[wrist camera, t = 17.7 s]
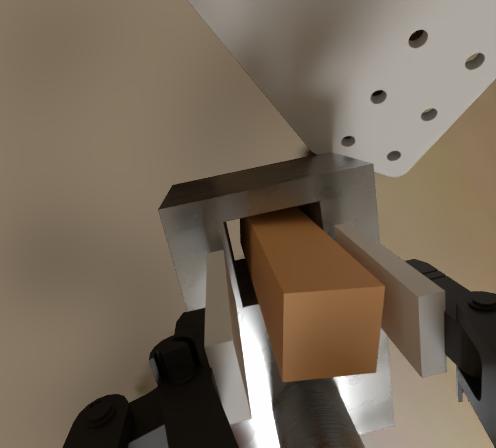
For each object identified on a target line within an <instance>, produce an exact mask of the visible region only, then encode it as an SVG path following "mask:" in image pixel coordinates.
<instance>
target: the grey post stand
mask: <svg viewBox="0 0 496 448" xmlns="http://www.w3.org/2000/svg"><path fill="white" fill-rule="evenodd" d="M294 206H296V207H298V208H299V209H300V210H301V211H302V212H303V213H304V214H305V215H307V216H308V217H309V218H310V219H311V220H312V221H313V222H314V223H315V224H317V225H318V226H319V227H320V228H321V229H322V230H323V231H324V232H325V233H327V234H328V235H329V236H330V237H331V238H332V239H333V240H334V241H335V242H336V234H335V226H334V225H338V224H342V223H347V222H352V223H353V224H354V225H356V226H357V227H359V228H360V229H361V230H363V231H364V232H365V233H367V234H368V235H369V236H371V237H372V238H374V239H375V240H376V241H378V242H379V243H380V239H379V227H378V214H377V202H376V189H375V177H374V165H373V163H370V162H366V161H362V160H359V159H355V158H351V157H348V156H344V155H340V154H337V153H333V152H331V153H325V154H319V155H318V154H317V155H312V156H307V157H303V158H298V159H293V160H289V161H284V162H280V163H275V164H270V165H265V166H260V167H256V168H251V169H247V170H242V171H237V172H232V173H227V174H223V175H218V176H214V177H209V178H204V179H199V180H195V181H190V182H185V183H180V184H176V185H172V187H171V189H170V190H169V192H168V194H167V196H166V197H165V199H164V201H163V202H162V204H161V206H160V208H159V209H158V211H159V214H160V218H161V221H162V225H163V228H164V232H165V235H166V239H167V242H168V246H169V249H170V253H171V256H172V259H173V263H174V266H175V270H176V274H177V277H178V281H179V284H180V287H181V291H182V294H183V298H184V301H185V305H186V308H187V312H188V311H193V310H197V309H201V308H205V303H206V267H207V253H211V252H216V251H220V250H224V254H225V258H226V262H227V266H228V271H229V275H230V279H231V283H232V288H233V292H234V296H235V301H236V306H237V314H238V321H239V328H240V335H241V343H242V350H243V357H244V364H245V372H246V379H247V386H248V393H249V401H250V408H251V415H252V419H251V420H246V421H242V422H238V423H234V424H230V426H231V429H232V431H233V434H234V436H235V439H236V441H237V444H238V446H239V448H365V447H364V445H363V442H362V440H361V438H360V436H359V435H360V434H364V433H368V432H372V431H376V430H380V429H385V428H389V427H393V426H395V425H394V413H393V400H392V388H391V375H390V363H389V351H388V338H387V334H386V333H385V332H384V331H383V330H382V328H381V331H380V341H379V350H378V360H377V369H376V373H369V374H359V375H349V376H340V377H330V378H320V379H311V380H301V381H291V382H282V379H281V376H280V372H279V369H278V366H277V362H276V359H275V356H274V352H273V349H272V346H271V342H270V339H269V336H268V332H267V329H266V326H265V322H264V319H263V316H262V312H261V309H260V306H259V302H258V299H257V296H256V293H255V289H254V286H253V283H252V279H251V276H250V273H249V269H248V266H247V263H246V259H240V260H236V261H235V260H234V255H233V251H232V246H231V242H230V238H229V234H228V229H227V224H226V221H229V220H234V219H239V218H244V217H248V216H253V215H257V214H262V213H267V212H271V211H276V210H280V209H285V208H289V207H294Z"/></svg>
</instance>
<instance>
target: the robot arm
mask: <svg viewBox="0 0 496 448" xmlns="http://www.w3.org/2000/svg"><path fill="white" fill-rule="evenodd" d="M334 226H335V234H336V242H337V243H338V244H339V245H340V246H341V247H342V248H343V249H344V250H346V251H347V252H348V253H349V254H350V255H351V256H352V257H353V258H354V259H356V260H357V261H358V262H359V263H360V264H361V265H362V266H363V267H364V268H366V269H367V270H368V271H369V272H370V273H371V274H372V275H373V276H374V277H376V278H377V279H378V280H379V281H380V282H381V283H382V284H383V285H384V286H385V293H384V303H383V312H382V322H381V328H382V330H383V331H384V332H385V333H386V334H387V336H388V337H389V338H390V339H391V341H392V342H393V343H394V344H395V345H396V347H397V348H398V349H399V350H400V352H401V353H402V354H403V355H404V356H405V358H406V359H407V360H408V361H409V363H410V364H411V365H412V366H413V368H414V369H415V370H416V371H417V372H418V374H419V375H420V376H421V377H422V378H423V377H427V376H432V375H436V374H440V373H444V372H447V369H446V355H447V356H448V357H449V358H450V359H451V360H452V361H453V362H454V363H455V364H456V390H457V399H458V402H462V393H463V392H465V394H466V396H467V398H468V401H469V402H470V403H471V405H472V407H473V409H474V411H475V412H476V414H477V416H478V418H479V420H480V421H481V423H482V425H483V427H484V429H485V431H486V432H487V434H488V436H489V438H490V440H491V441H492V443H493V445H494V447H495V448H496V294H494V293H489V292H483V291H472V292H470V291H469V290H467V289H466V288H464V287H463V286H461V285H460V284H458V283H457V282H455V281H454V280H452V279H451V278H449V277H448V276H447V277H446V275H445V274H443V273H442V272H440V271H438V270H437V269H436V268H434V267H433V266H431V265H430V264H428V263H426V262H422V261H419V260H416V259H412V260H407V261H404V260H402V259H401V258H400V257H398V256H397V255H395V254H394V253H393V252H391V251H390V250H389V249H387V248H386V247H385V246H383V245H382V244H380V243H379V242H378V241H376V240H375V239H374V238H372V237H371V236H369V235H368V234H367V233H365V232H364V231H363V230H361V229H360V228H359V227H357V226H356V225H354V224H353V223H352V222H347V223H342V224H338V225H334ZM149 361H150V364H151V367H152V370H153V373H154V376H155V379H156V382H157V384H158V387H156V388H155V389H154V390H153V391H151V392H149V393H148V394H146V395H144V396H142V397H140V398H138V399H136V400H134V401H132V402H130V403H128V401H127V399H126V398H125V397H124V396H122V395H119V394H112V395H106V396H104V397H101V398H99V399H97V400H95V401H94V402H92V403H90V404H89V405H87V406H86V407H85V408H84V409H83V410H82V411H81V412H80V413H79V415H78V416H77V418H76V419H75V421H74V422H73V425H72V427H71V429H70V432H69V434H68V436H67V439H66V441H65V443H64V445H63V448H239V446H238V444H237V441H236V439H235V436H234V434H233V431H232V429H231V426H230V424H234V423H238V422H242V421H246V420H251V419H252V415H251V408H250V401H249V393H248V386H247V379H246V372H245V364H244V357H243V350H242V343H241V335H240V328H239V321H238V314H237V306H236V301H235V296H234V292H233V288H232V283H231V279H230V275H229V271H228V266H227V262H226V258H225V254H224V250H220V251H216V252H211V253H207V267H206V303H205V308H201V309H197V310H193V311H188V312H184V313H183V314H182V315H181V317H180V318H179V319H178V321H177V322H176V328H175V334H174V336H170V337H168V338H166V339H164V340H163V341H161V342H160V343H159V344H157V345H156V346H155V347H154V348H153V350H152V351H151V353H150V357H149Z"/></svg>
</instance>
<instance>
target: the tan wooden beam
mask: <svg viewBox="0 0 496 448" xmlns="http://www.w3.org/2000/svg"><path fill="white" fill-rule="evenodd" d="M240 242H241V246H242V249H243V253H244V256H245V259H246V263H247V266H248V269H249V273H250V276H251V279H252V283H253V286H254V289H255V293H256V296H257V299H258V302H259V306H260V309H261V312H262V316H263V319H264V322H265V326H266V329H267V332H268V336H269V339H270V342H271V346H272V349H273V352H274V356H275V359H276V362H277V366H278V369H279V372H280V376H281V379H282V382H291V381H301V380H311V379H320V378H330V377H340V376H349V375H359V374H369V373H376V369H377V360H378V350H379V341H380V331H381V322H382V312H383V303H384V293H385V286H384V285H383V284H382V283H381V282H380V281H379V280H378V279H377V278H376V277H374V276H373V275H372V274H371V273H370V272H369V271H368V270H367V269H366V268H364V267H363V266H362V265H361V264H360V263H359V262H358V261H357V260H356V259H354V258H353V257H352V256H351V255H350V254H349V253H348V252H347V251H346V250H344V249H343V248H342V247H341V246H340V245H339V244H338V243H337V242H335V241H334V240H333V239H332V238H331V237H330V236H329V235H328V234H327V233H325V232H324V231H323V230H322V229H321V228H320V227H319V226H318V225H317V224H315V223H314V222H313V221H312V220H311V219H310V218H309V217H308V216H307V215H305V214H304V213H303V212H302V211H301V210H300V209H299V208H298V207H296V206H294V207H289V208H285V209H280V210H276V211H271V212H267V213H262V214H257V215H253V216H248V217H244V218H240Z"/></svg>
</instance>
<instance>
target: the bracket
mask: <svg viewBox="0 0 496 448" xmlns="http://www.w3.org/2000/svg"><path fill="white" fill-rule="evenodd" d="M187 1H188V2H189V3H190V4H191V5H192V7H193V8H194V9H195V10H196V12H197V13H198V14H199V15H200V16H201V18H202V19H203V20H204V21H205V22H206V24H207V25H208V26H209V27H210V29H211V30H212V31H213V32H214V33H215V35H216V36H217V37H218V38H219V40H221V42H222V43H223V44H224V46H225V47H226V48H227V49H228V50H229V51H230V53H231V54H232V55H233V56H234V58H235V59H236V60H237V61H238V63H239V64H240V65H241V66H242V67H243V69H244V70H245V71H246V72H247V74H248V75H249V76H250V77H251V78H252V80H253V81H254V82H255V83H256V84H257V85H258V87H259V88H260V89H261V91H262V92H263V93H264V94H265V95H266V97H267V98H268V99H269V100H270V101H271V103H272V104H273V105H274V106H275V108H276V109H277V110H278V111H279V112H280V114H281V115H282V116H283V117H284V118H285V120H286V121H287V122H288V123H289V125H290V126H291V127H292V128H293V129H294V131H295V132H296V133H297V134H298V136H299V137H300V138H301V139H302V140H303V142H304V143H305V144H306V145H307V146H308V148H309V149H310V150H311V151H312V152H313V153H315V154H318V155H319V154H325V153H331V152H333V153H337V154H340V155H344V156H348V157H351V158H355V159H359V160H362V161H366V162H370V163H373V165H374V172H377V173H380V174H383V175H386V176H390V177H399V176H402V175H404V174H405V173H407V172H408V171H409V170H410V169H411V167H412V166H413V165H414V164H415V163H416V162H417V161H418V160H419V159H420V158H421V157H422V156H423V155H424V154H425V153H426V152H427V151H428V150H429V148H430V147H431V146H432V145H433V144H434V143H435V142H436V141H437V140H438V139H439V138H440V137H441V136H442V135H443V134H444V133H445V132H446V131H447V129H448V128H449V127H450V126H451V125H452V124H453V123H454V122H455V121H456V120H457V119H458V118H459V117H460V116H461V115H462V114H463V113H464V111H465V110H466V109H467V108H468V107H469V106H470V105H471V104H472V103H473V102H474V101H475V100H476V99H477V98H478V97H479V96H480V95H481V94H482V92H483V91H484V90H485V89H486V88H487V87H488V86H489V85H490V84H491V83H492V82H493V81H494V80H495V79H496V0H187ZM418 30H424V32H423V34H422V35H421V37H419V38H418V39H416V40H413V41H410V40H409V38H410V36H411V35H412V34H413V33H414V32H415V31H418ZM475 53H479V54H478V55H477V57H476V58H475V59H473V60H471V61H469V62H466V60H467V59H468V58H469V57H470V56H471V55H473V54H475ZM377 90H383V92H382V93H381V94H380V95H378V96H372V94H373V93H374V92H375V91H377ZM430 108H432V109H431V110H430V111H429V112H426V113H423V112H424V111H425V110H427V109H430ZM346 136H352V137H351V138H348V139H344V137H346ZM392 151H395V152H393V153H390V152H392Z"/></svg>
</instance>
